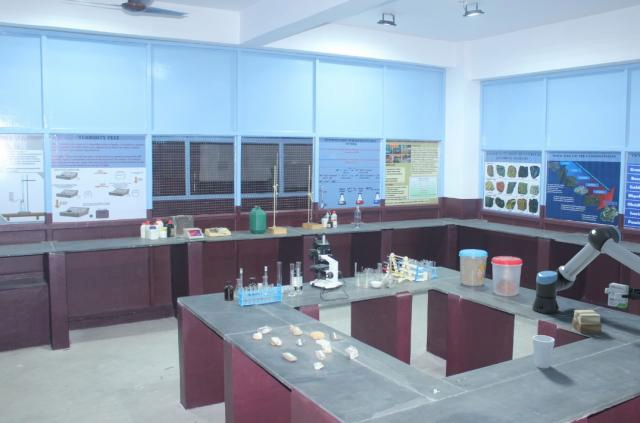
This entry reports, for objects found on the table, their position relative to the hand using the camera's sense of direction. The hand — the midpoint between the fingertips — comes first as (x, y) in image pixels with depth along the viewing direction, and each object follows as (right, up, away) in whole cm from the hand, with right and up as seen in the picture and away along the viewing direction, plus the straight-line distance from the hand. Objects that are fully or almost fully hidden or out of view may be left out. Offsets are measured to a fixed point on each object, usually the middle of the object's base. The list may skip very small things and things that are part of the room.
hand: (610, 293), depth 299 cm
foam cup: (-51, -28, -37) cm, 69 cm away
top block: (-7, -17, +10) cm, 21 cm away
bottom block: (-7, -22, +11) cm, 26 cm away
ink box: (+4, -7, +1) cm, 9 cm away
